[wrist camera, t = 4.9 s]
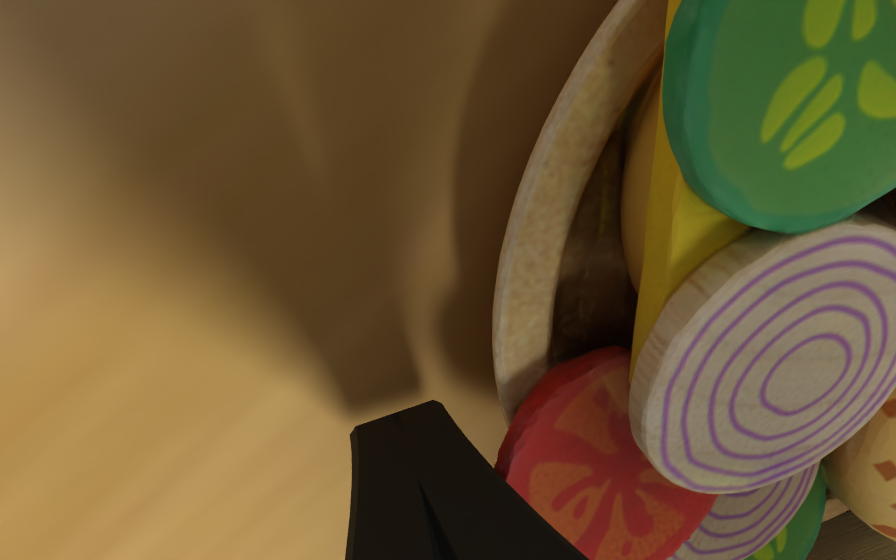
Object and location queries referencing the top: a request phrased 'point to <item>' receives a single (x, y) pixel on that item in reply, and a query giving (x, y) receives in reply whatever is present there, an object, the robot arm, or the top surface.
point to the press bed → (851, 541)
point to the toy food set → (707, 284)
